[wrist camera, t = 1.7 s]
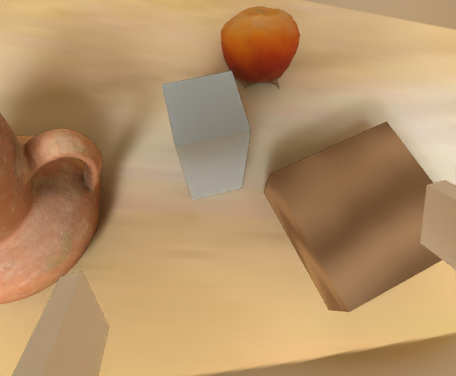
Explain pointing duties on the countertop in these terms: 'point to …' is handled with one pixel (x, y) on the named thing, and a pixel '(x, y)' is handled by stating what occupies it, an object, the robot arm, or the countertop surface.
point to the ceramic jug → (45, 207)
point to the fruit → (259, 44)
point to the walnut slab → (355, 216)
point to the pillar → (209, 132)
